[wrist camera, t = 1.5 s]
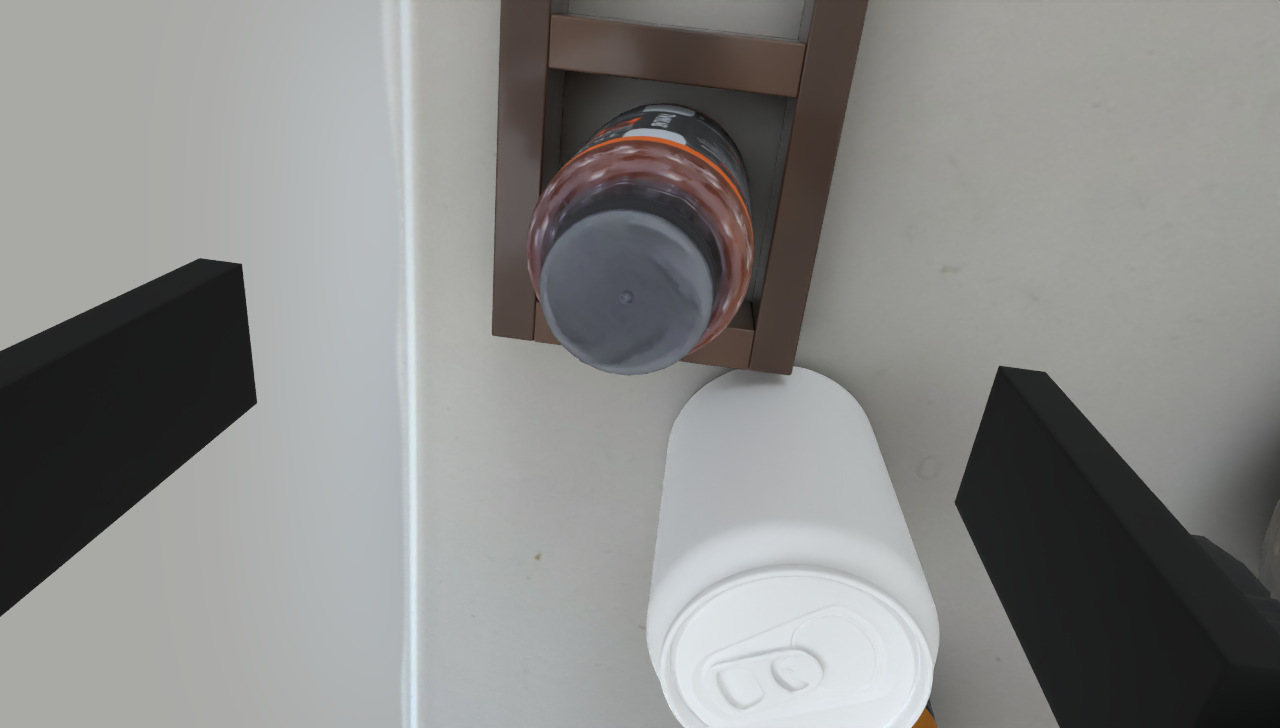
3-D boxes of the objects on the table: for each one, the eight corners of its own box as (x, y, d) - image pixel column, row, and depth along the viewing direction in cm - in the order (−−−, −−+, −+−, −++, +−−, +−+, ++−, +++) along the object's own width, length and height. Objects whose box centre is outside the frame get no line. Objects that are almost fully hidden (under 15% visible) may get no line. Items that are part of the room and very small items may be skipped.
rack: (511, 306, 30) (491, 336, 28) (537, -344, 22) (510, -393, 19) (785, 342, 30) (791, 376, 27) (914, -307, 22) (941, -352, 19)
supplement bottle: (633, 64, 26) (576, 102, 16) (782, 161, 27) (818, 256, 17) (549, 214, 29) (452, 331, 18) (688, 299, 29) (670, 456, 19)
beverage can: (901, 493, 32) (993, 743, 21) (718, 555, 34) (717, 812, 23) (827, 323, 29) (890, 511, 18) (634, 402, 31) (588, 612, 21)
